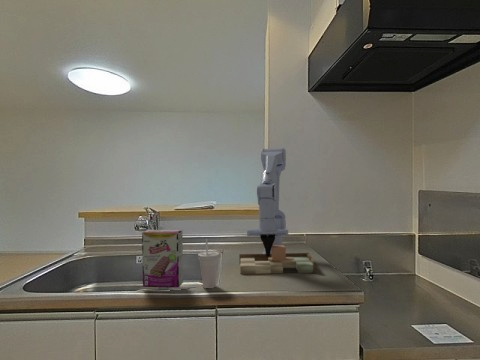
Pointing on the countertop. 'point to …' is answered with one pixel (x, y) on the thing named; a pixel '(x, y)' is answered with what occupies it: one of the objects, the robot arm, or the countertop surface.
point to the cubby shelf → (277, 264)
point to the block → (278, 253)
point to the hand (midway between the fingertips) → (267, 255)
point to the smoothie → (208, 267)
